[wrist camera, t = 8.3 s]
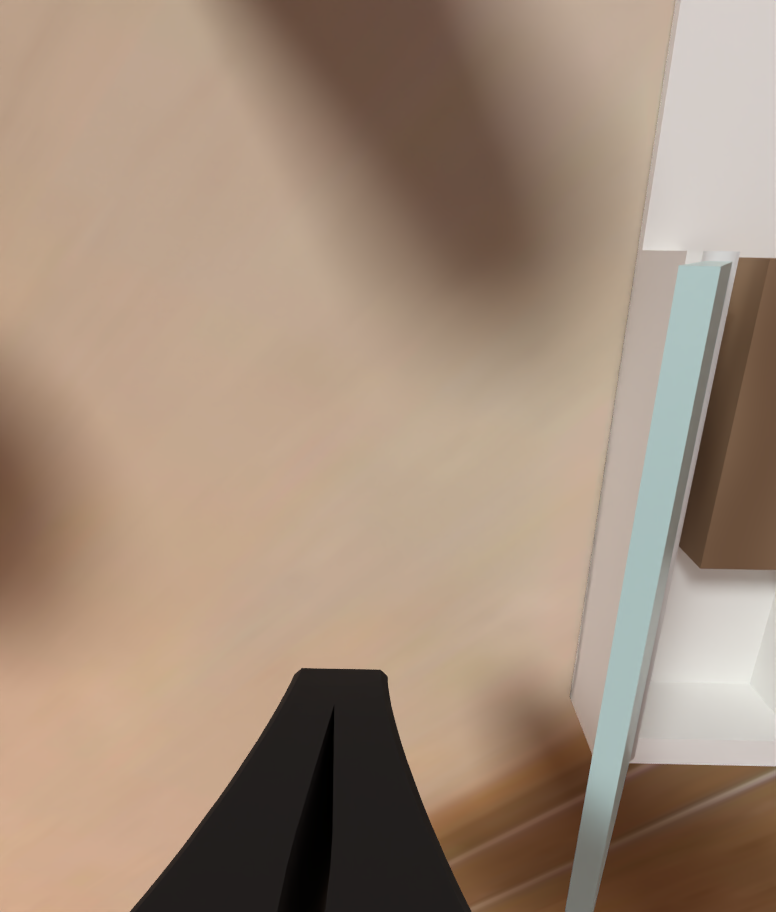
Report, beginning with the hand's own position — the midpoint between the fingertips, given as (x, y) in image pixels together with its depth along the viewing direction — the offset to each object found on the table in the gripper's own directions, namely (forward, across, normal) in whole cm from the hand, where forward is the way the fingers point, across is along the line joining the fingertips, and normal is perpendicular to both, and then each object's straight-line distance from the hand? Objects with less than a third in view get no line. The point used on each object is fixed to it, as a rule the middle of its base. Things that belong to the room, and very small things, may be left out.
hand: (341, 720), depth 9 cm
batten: (+9, -11, -3) cm, 14 cm away
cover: (+4, -7, 0) cm, 7 cm away
